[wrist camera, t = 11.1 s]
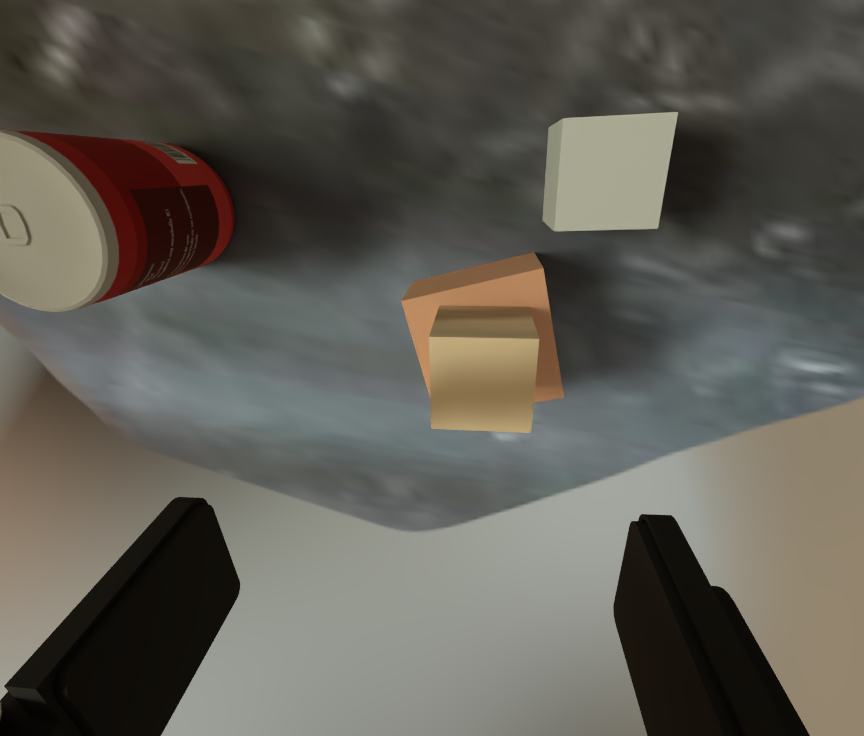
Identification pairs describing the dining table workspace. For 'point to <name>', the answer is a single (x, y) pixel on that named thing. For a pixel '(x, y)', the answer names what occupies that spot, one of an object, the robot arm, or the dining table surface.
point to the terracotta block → (489, 287)
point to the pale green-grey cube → (607, 171)
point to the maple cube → (483, 368)
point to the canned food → (102, 217)
